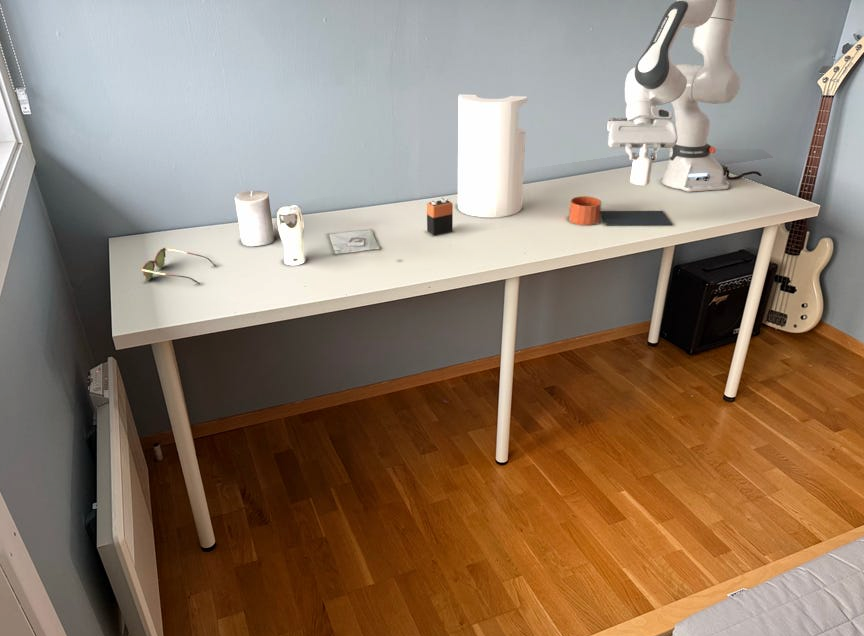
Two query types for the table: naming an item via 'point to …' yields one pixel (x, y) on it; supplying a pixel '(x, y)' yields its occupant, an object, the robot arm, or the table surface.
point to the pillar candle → (254, 218)
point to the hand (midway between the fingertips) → (643, 159)
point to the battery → (439, 217)
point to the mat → (635, 218)
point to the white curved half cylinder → (490, 156)
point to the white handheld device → (291, 233)
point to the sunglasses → (162, 264)
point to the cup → (585, 210)
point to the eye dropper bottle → (641, 168)
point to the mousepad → (353, 241)
